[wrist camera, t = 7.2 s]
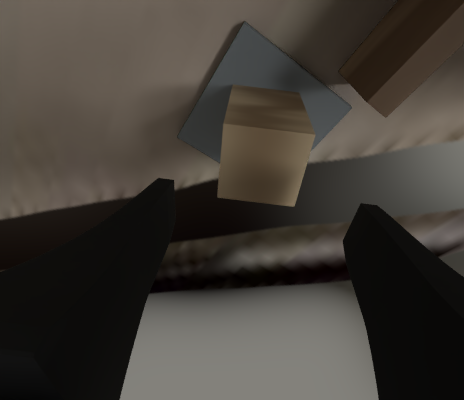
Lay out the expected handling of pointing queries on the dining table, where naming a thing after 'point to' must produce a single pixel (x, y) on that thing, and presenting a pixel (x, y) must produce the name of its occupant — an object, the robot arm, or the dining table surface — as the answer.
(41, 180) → the dining table surface
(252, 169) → the oak block
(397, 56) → the brown wooden arch
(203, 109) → the mat
